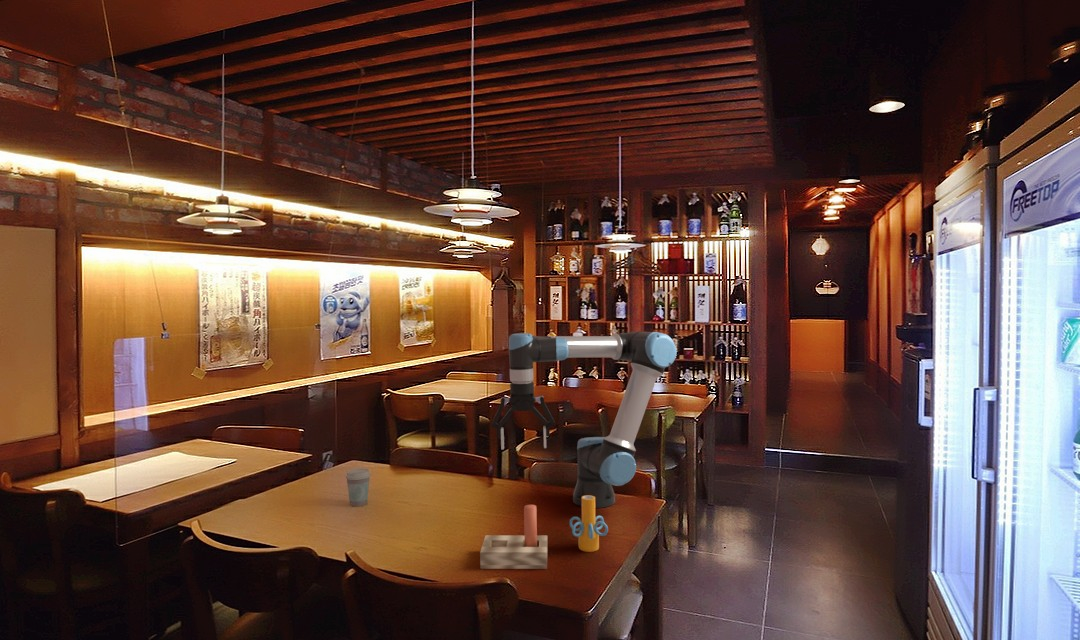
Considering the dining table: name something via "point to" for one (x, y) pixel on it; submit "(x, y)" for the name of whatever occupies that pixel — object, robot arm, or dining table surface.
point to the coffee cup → (358, 486)
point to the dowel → (530, 525)
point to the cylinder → (588, 526)
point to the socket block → (513, 553)
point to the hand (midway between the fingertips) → (523, 447)
